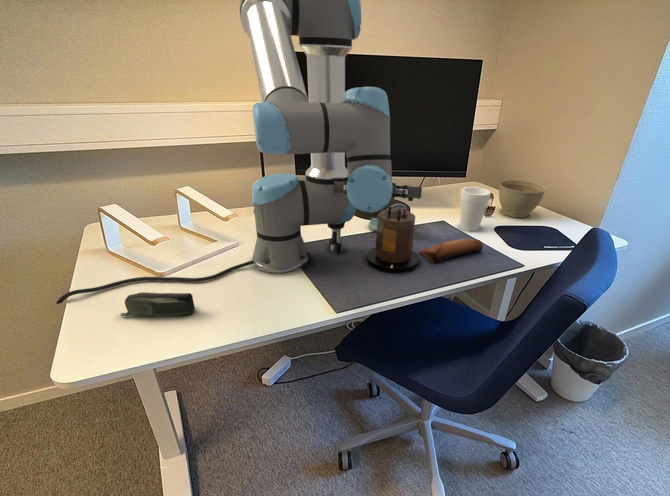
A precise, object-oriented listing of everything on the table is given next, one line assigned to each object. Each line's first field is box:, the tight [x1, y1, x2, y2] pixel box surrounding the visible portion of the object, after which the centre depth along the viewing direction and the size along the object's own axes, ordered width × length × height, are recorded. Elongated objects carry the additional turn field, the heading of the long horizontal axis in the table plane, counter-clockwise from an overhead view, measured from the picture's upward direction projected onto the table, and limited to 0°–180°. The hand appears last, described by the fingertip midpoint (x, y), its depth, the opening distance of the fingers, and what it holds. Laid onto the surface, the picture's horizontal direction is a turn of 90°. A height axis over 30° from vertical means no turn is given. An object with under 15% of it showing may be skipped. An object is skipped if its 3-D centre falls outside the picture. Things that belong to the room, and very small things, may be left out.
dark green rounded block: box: [120, 291, 196, 317], centre depth 86 cm, size 5×3×15 cm
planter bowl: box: [498, 179, 546, 219], centre depth 149 cm, size 16×16×11 cm
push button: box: [327, 222, 346, 254], centre depth 116 cm, size 7×5×10 cm
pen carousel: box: [375, 205, 416, 263], centre depth 109 cm, size 10×10×14 cm
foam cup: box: [459, 186, 492, 232], centre depth 134 cm, size 10×9×13 cm
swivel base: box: [366, 246, 420, 274], centre depth 113 cm, size 15×15×2 cm
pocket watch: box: [368, 202, 408, 233], centre depth 131 cm, size 10×11×15 cm
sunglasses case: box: [420, 238, 484, 264], centre depth 119 cm, size 18×7×7 cm
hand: (379, 189), depth 99 cm, fingers open, 13 cm apart
